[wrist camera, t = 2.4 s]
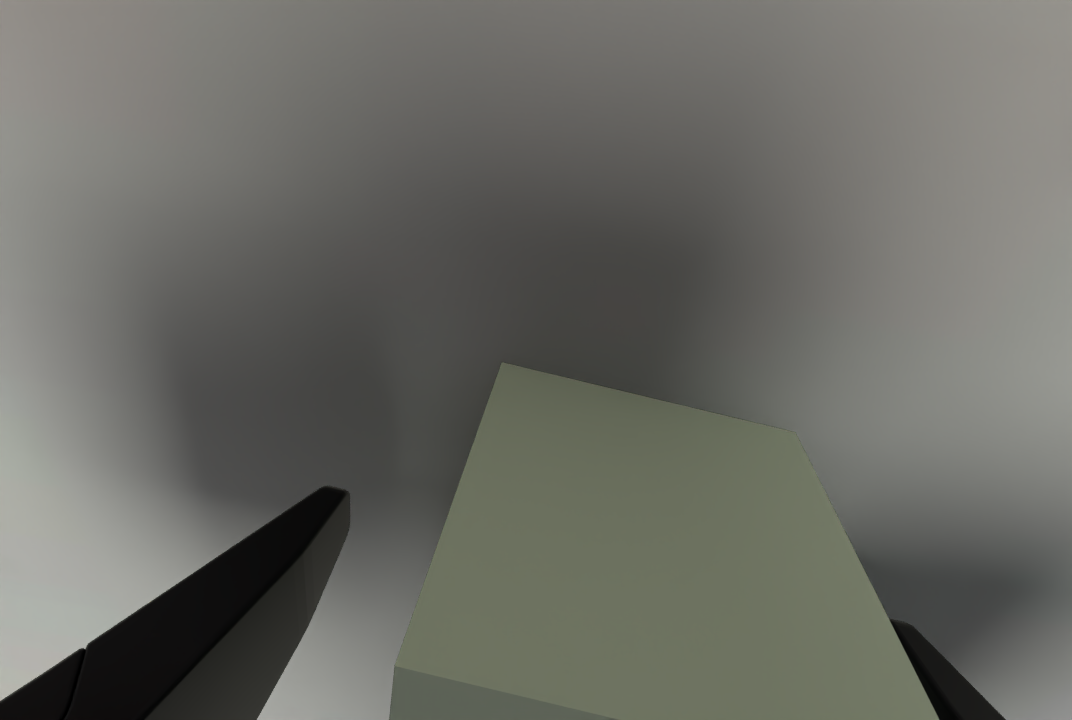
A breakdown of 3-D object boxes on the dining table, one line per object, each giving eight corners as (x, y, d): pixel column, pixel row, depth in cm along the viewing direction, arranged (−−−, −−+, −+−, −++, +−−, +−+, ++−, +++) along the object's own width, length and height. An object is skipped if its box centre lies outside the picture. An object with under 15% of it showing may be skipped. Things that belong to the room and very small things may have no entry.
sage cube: (794, 429, 8) (983, 807, 4) (688, 603, 11) (738, 945, 7) (502, 360, 8) (394, 665, 4) (465, 550, 11) (376, 857, 7)
